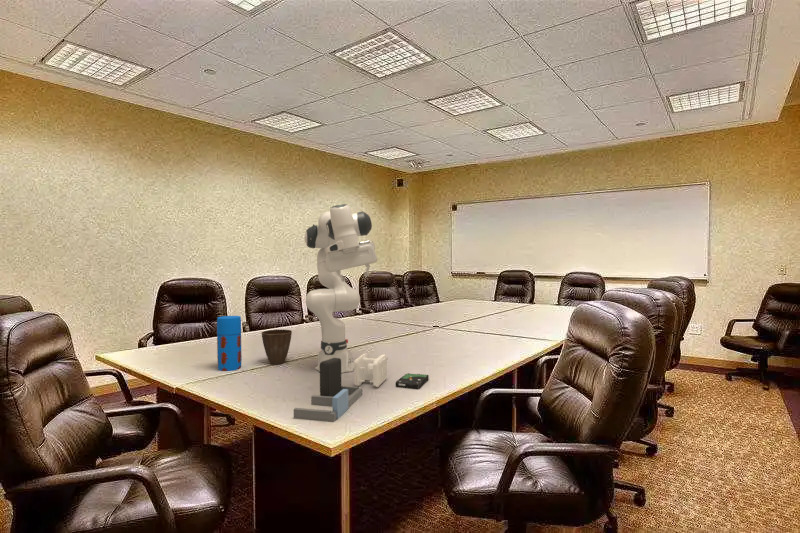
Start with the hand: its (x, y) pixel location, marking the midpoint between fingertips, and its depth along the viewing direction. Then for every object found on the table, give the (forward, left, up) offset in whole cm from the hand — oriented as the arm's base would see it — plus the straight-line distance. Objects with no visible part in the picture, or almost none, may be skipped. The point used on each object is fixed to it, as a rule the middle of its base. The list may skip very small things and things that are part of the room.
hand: (355, 278), depth 169 cm
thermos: (-23, -73, -46) cm, 89 cm away
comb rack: (+15, -5, -45) cm, 48 cm away
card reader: (+8, -7, -46) cm, 47 cm away
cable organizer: (-15, +2, -46) cm, 48 cm away
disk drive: (-19, +19, -46) cm, 53 cm away
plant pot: (-38, -56, -46) cm, 82 cm away
